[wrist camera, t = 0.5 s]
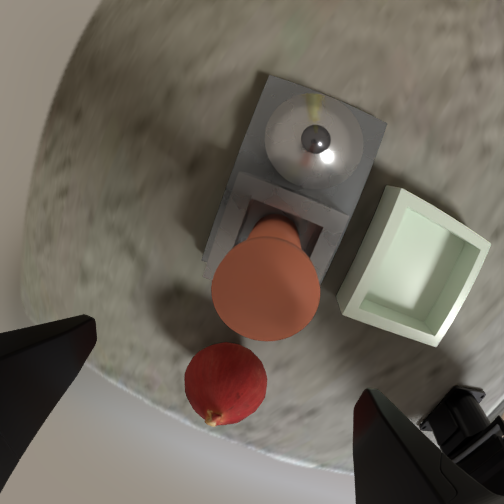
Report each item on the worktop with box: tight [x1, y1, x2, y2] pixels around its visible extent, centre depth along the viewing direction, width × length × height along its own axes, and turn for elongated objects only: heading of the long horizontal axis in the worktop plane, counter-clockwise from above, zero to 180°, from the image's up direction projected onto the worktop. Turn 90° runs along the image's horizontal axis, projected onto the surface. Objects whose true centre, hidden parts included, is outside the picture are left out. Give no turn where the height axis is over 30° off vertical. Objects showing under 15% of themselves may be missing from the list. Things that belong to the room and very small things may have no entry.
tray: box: [336, 185, 491, 347], centre depth 17 cm, size 9×9×3 cm
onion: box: [185, 342, 267, 427], centre depth 19 cm, size 6×6×8 cm
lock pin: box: [211, 214, 320, 341], centre depth 14 cm, size 4×4×9 cm
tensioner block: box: [202, 75, 387, 285], centre depth 17 cm, size 8×13×4 cm, turn 160°
